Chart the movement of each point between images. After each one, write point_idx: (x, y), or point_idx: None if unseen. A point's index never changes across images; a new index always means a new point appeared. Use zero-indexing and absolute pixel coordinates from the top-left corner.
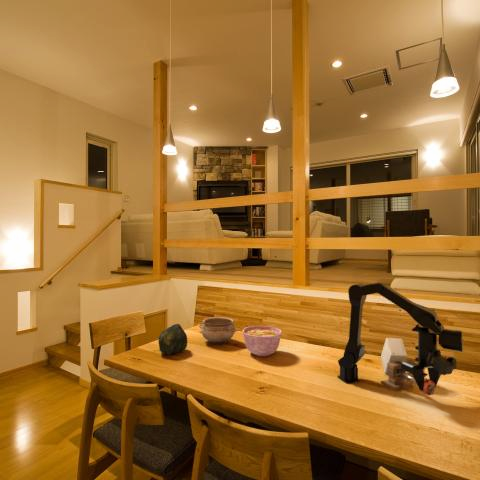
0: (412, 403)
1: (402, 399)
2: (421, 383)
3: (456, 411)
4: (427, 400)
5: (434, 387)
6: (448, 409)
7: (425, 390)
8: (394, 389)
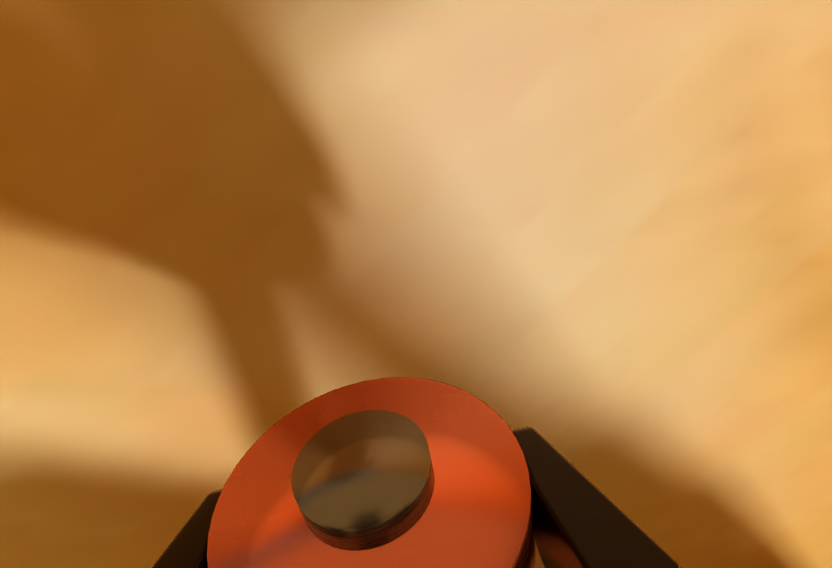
0: (579, 322)
1: (614, 399)
2: (663, 556)
3: (81, 67)
4: (334, 370)
5: (235, 501)
6: (187, 142)
7: (475, 431)
8: (536, 546)
